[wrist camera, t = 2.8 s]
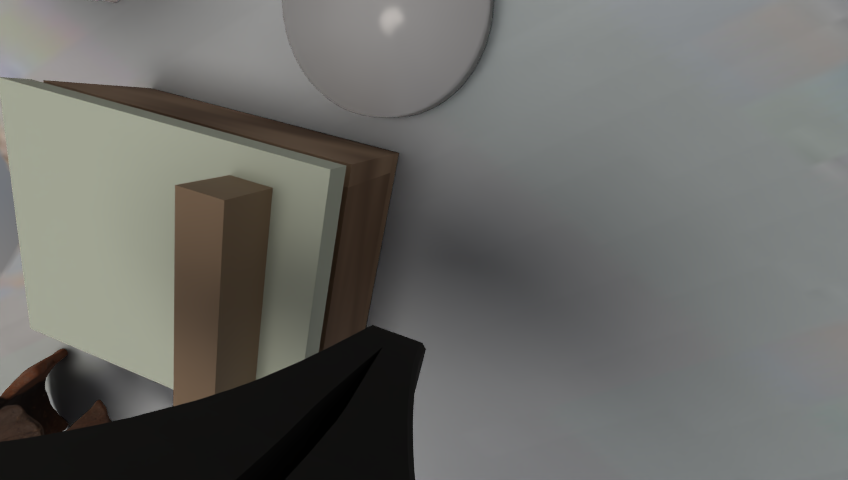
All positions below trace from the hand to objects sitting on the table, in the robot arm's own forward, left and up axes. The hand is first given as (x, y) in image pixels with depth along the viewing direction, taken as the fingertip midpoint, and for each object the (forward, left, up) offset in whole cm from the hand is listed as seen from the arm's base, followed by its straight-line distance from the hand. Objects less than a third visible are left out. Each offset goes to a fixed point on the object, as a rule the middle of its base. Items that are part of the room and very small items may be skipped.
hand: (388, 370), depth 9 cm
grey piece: (+3, -8, -5) cm, 10 cm away
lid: (+7, 0, -2) cm, 8 cm away
